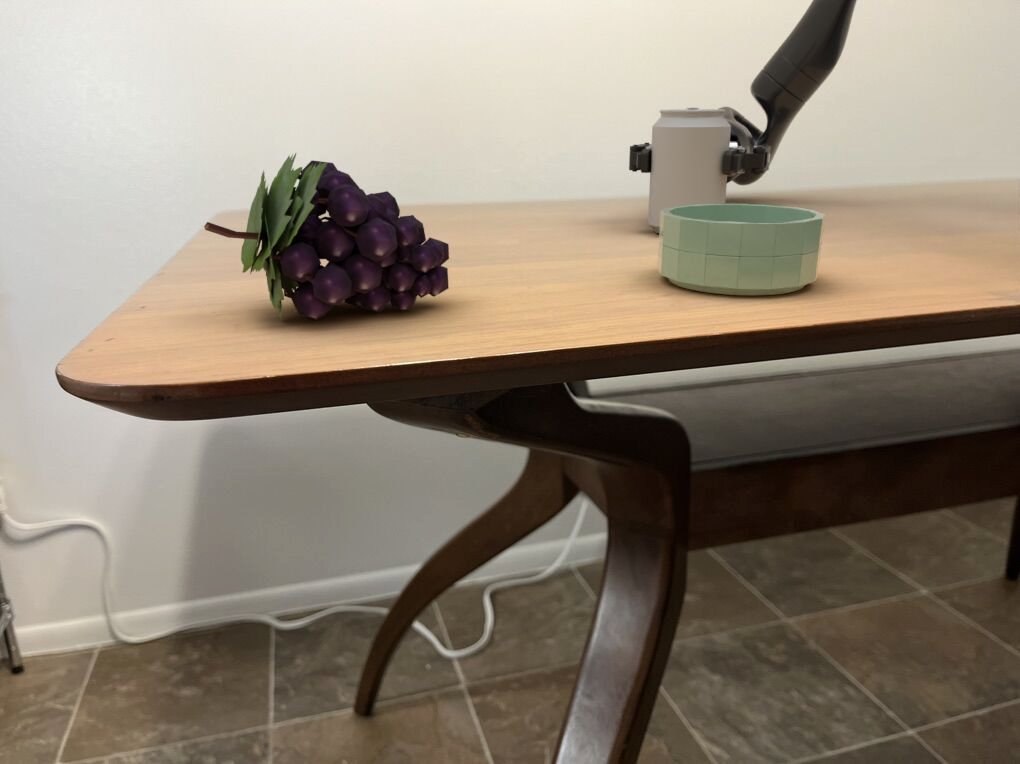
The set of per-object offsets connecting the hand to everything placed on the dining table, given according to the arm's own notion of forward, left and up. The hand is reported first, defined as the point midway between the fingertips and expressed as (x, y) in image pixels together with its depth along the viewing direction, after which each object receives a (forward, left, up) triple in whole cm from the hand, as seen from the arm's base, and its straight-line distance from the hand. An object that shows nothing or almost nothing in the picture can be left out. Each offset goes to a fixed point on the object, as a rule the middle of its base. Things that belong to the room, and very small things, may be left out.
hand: (685, 162), depth 79 cm
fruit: (+26, +32, -7) cm, 42 cm away
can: (-1, -2, -7) cm, 7 cm away
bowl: (-1, +22, -7) cm, 23 cm away
